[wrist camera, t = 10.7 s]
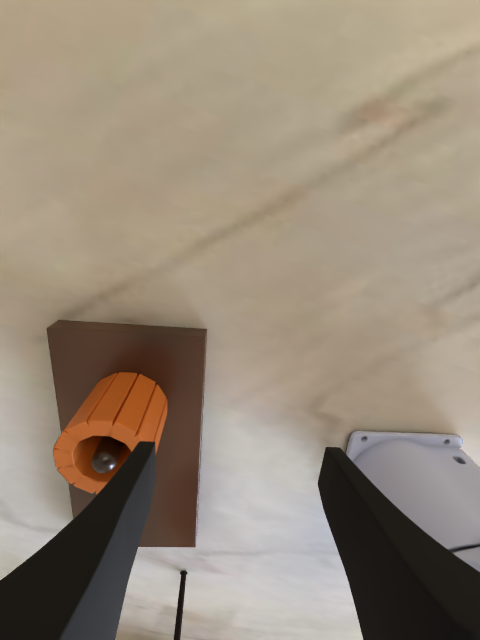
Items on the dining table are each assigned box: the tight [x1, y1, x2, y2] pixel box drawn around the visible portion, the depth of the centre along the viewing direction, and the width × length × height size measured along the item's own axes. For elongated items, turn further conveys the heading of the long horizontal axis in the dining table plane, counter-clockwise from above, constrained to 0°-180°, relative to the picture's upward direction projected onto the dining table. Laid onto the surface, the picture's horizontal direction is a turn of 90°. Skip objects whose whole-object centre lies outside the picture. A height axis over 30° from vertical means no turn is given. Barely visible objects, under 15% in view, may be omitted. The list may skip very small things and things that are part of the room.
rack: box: [47, 320, 207, 547], centre depth 21 cm, size 10×20×7 cm, turn 175°
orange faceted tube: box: [53, 372, 167, 494], centre depth 19 cm, size 5×5×5 cm
